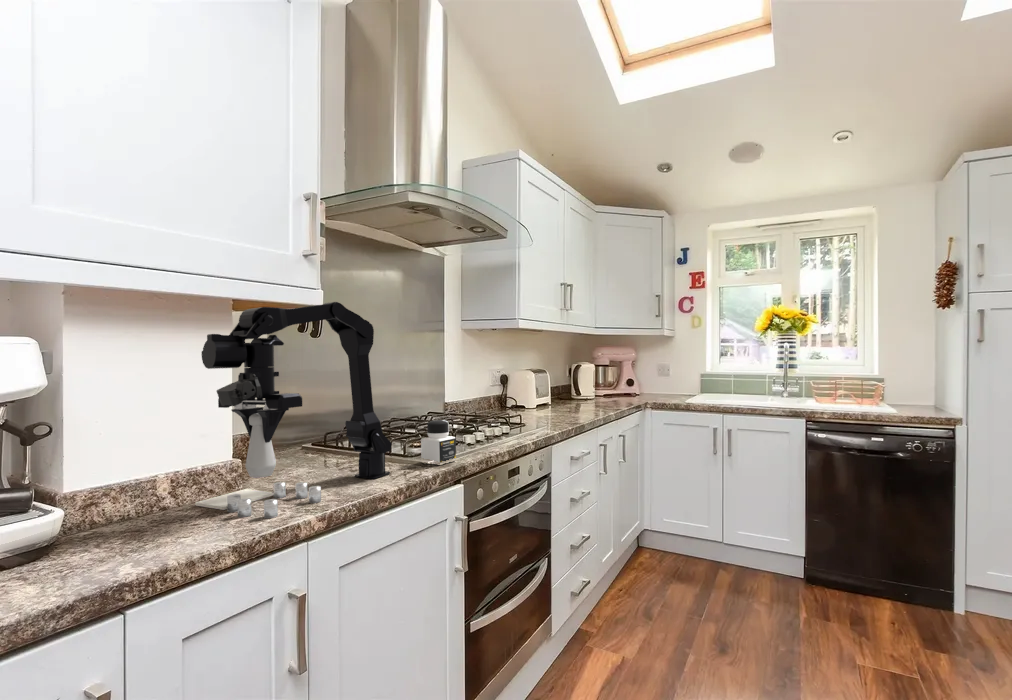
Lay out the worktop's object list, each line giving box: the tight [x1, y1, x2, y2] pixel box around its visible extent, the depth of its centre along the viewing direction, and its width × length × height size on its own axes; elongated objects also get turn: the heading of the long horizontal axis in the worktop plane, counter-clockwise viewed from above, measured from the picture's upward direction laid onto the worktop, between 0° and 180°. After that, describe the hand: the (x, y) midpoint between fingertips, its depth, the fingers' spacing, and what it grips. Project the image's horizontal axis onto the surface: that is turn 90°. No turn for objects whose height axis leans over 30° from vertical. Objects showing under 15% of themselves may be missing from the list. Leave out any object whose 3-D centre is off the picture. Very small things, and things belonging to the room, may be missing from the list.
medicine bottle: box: [420, 419, 457, 462], centre depth 147 cm, size 7×7×12 cm
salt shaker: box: [244, 413, 277, 479], centre depth 108 cm, size 6×6×13 cm
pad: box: [194, 488, 274, 511], centre depth 111 cm, size 12×9×1 cm
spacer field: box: [226, 481, 322, 519], centre depth 106 cm, size 16×13×3 cm
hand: (260, 441), depth 108 cm, fingers closed on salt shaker, 4 cm apart
